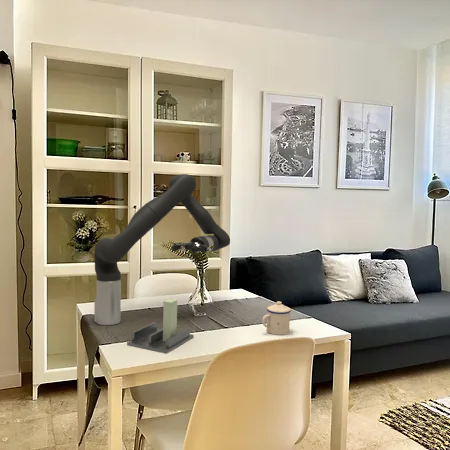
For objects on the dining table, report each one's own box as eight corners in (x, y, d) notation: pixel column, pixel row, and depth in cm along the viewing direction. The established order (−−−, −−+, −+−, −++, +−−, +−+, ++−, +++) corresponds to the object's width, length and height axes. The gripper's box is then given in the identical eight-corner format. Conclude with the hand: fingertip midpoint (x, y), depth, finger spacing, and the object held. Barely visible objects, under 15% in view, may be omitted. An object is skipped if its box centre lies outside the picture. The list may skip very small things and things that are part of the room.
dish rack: (127, 344, 153) (127, 333, 153) (156, 330, 170) (156, 320, 169) (166, 353, 147) (167, 341, 146) (193, 337, 163) (193, 326, 162)
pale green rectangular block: (162, 340, 155) (163, 301, 154) (169, 337, 159) (170, 298, 158) (170, 342, 154) (170, 302, 153) (176, 339, 158) (177, 300, 156)
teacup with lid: (279, 326, 179) (280, 297, 178) (294, 333, 171) (296, 303, 170) (255, 330, 172) (256, 301, 171) (269, 338, 165) (270, 307, 164)
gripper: (187, 235, 193) (166, 238, 178) (216, 237, 187) (198, 241, 172) (186, 252, 193) (166, 257, 179) (216, 255, 187) (198, 260, 173)
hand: (182, 249), depth 175 cm, fingers open, 8 cm apart
